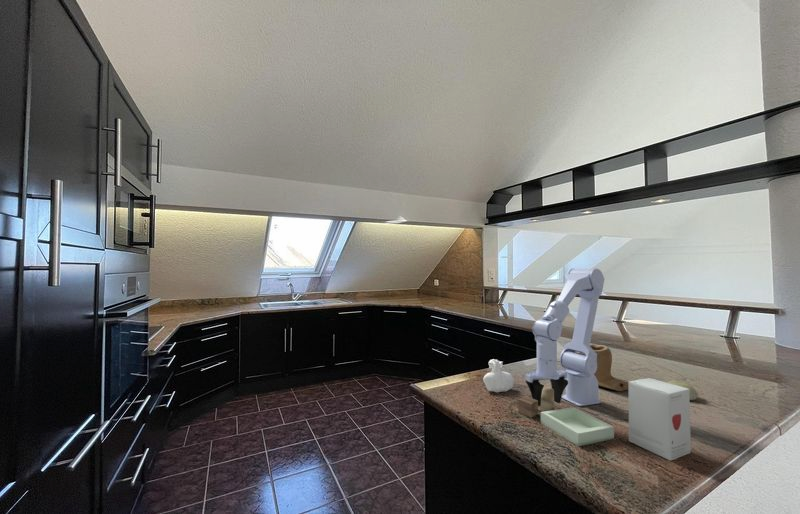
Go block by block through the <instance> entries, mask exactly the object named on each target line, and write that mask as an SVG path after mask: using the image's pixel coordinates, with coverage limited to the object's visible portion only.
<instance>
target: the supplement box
mask: <svg viewBox="0 0 800 514" xmlns="http://www.w3.org/2000/svg"><path fill="white" fill-rule="evenodd" d="M628 382H629V389H628V442H630V443H632V444H634V445H636V446H638V447H640V448H643V449H644V450H647V451H648V452H651V453H653V454H656V455H657V456H660V457H662V458H664V459H666V460H668V461H673V460H677V459H678V458H680V457H684V456H686V455H689V454H691V450H692V449H691V448H692V447H691V445H692V443H691V407H690V406H691V405H690V403H691V402H690V401H691V400H690V396H689V389H687V388H684V387H680V386H677V385H673V384H669V383H666V382H667V381H661V380H658V379H655V378H652V377H647V378H639V379H636V380H629V381H628Z"/></svg>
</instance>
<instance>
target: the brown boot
mask: <svg viewBox="0 0 800 514" xmlns="http://www.w3.org/2000/svg"><path fill="white" fill-rule="evenodd" d="M590 347H591V348H592V349H593V350H594V351H595V352H596V354H597V370H596V372H595V373H594V375H595V377H596V378H597V380H598V387H602V388H606V389H609V390H614V391H617V392H625V391H628V390H629V381H624V380H622V379H619V378H615V377H614V376H612V372H611V370H612V364H613V353H612V351H611V349H610V348H609V347H608V346H606V345H604V344H603V345H602V344H600V345H596V344H590ZM579 353H580V354H584V355H586V354H585V353H581V352H579Z"/></svg>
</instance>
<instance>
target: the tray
mask: <svg viewBox="0 0 800 514" xmlns="http://www.w3.org/2000/svg"><path fill="white" fill-rule="evenodd" d="M540 424H541V425H544V426H545V427H546V428H547V429H549V430H551V431H553V432H554V433H556V434H557V435H559V436H560V437H563V438H564V439H566V440H567V441H569V442H571V443H572V444H573V445H576V446H577V447H582V446H586V445H587V446H588V445H591V444H598V443H601V442H605V441H606V442H607V441H610V440H615V426H614V425H611V424H609V423H607V422H605V421H603V420H601V419H599V418H597V417H595V416H592V415H591V414H588V413H587V412H585V411H583V410H581V409H579V408H577V407H574V406H573V407H572V406H571V407H564V408H559V409H554V410H551V411H544V410H543V411H541V412H540Z"/></svg>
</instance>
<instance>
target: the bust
mask: <svg viewBox="0 0 800 514" xmlns="http://www.w3.org/2000/svg"><path fill="white" fill-rule="evenodd" d="M503 363H504V361H500V360H498V359H494V358H493V359H490V360H489V361H488V366H489V367H488V368H489V369H491V371H490V372H487V373H486V374H485V375H483V383H484V384H485V387H486V390H488V392H494V393H500V392H508V391H509V390H511V389H512V388H513V387H514V377H513V375H512V374H511V373H509V372H507V371H502V368H503Z"/></svg>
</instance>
